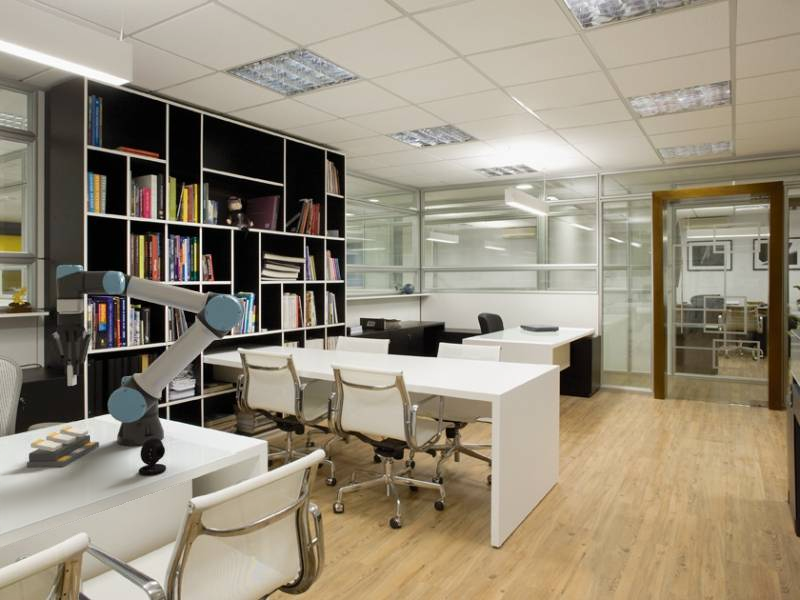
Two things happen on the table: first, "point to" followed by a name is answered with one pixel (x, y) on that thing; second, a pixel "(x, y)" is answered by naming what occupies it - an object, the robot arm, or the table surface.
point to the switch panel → (63, 463)
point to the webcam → (152, 457)
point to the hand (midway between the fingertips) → (72, 384)
